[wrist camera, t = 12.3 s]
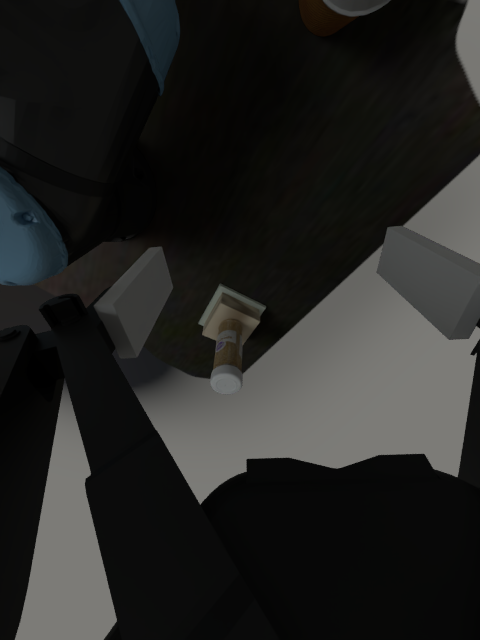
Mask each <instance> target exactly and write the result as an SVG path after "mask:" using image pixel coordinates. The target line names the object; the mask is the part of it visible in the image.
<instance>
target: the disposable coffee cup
mask: <svg viewBox="0 0 480 640" xmlns="http://www.w3.org/2000/svg"><path fill="white" fill-rule="evenodd" d="M389 1H391V0H299V9H300V14H301V18H302V20H303V22H304V24H305V26H306V27H307V29H308V30H309V31H310V32H312V33H313V34H314V35H317V36H324V37H325V36H328V35H332V34H334V33H335V32H337V31H338V30H340V29H341V28H343V27H344V26H345V25H347V24H348V23H350V22H351V21H353V20H354V19H356V18H357V17H359V16H363V15H367V14H369V13H372V12H374V11H376V10H378V9H379V8H381V7H382V6H384V5H385V4H387V3H388V2H389Z"/></svg>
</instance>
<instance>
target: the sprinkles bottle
mask: <svg viewBox="0 0 480 640" xmlns="http://www.w3.org/2000/svg"><path fill="white" fill-rule="evenodd" d="M242 330H243V328H242V325H241V324H240V322H239V321H237V320H234V319H227V320H224V321H222V322H221V323H220V325H219V328H218V331H219V332H218V337H217V343H216V353H215V361H214V368H213V371H212V374H211V382H210V384H211V387H212V388H213V389H214V390H215V391H216V392H218V393H220V394H233V393H236V392H238V391H239V390H240V389H241V387H242V371H241V366H242Z"/></svg>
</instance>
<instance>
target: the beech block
mask: <svg viewBox="0 0 480 640" xmlns="http://www.w3.org/2000/svg"><path fill="white" fill-rule="evenodd" d="M227 319H234V320H237V321H239V322H240V324H241V325H242V328H243V330H242V345H243V344H244V343H245V341H246V340H247V339H248V337H249V336H250V335H251V333H252V332H253V331H254V329H255V328H256V327H257V325H258V324H259V322H260V314H259V309H257V308H255V307H253V306H250V305H248V304H246V303H244V302H242V301H240V300H238V299H236V298H234V297H232V296H230V295H228V294H226V293H224V292H222V294H221V295H220V297H219V299H218V300H217V302H216V304H215V306H214V307H213V309H212V311H211V313H210V314H209V316H208V318H207V320H206V321H205V324H204V328H203V333H202V335H204V336H207V337H209V338H211V339H214V340H216V341H217V337H218V332H219V331H218V328H219V325H220V323H221V322H222V321H224V320H227Z"/></svg>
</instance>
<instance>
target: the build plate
mask: <svg viewBox="0 0 480 640" xmlns="http://www.w3.org/2000/svg"><path fill="white" fill-rule="evenodd" d="M222 292H224V293H226V294H228V295H230V296H232V297H234V298H236V299H238V300H240V301H242V302H244V303H246V304H248V305H250V306H253V307H255V308H257V309H259V314H260V316H261V314H262V313H263V312H264V310H265V309H266V306H265V305H263V304H261V303H259V302H257V301H255V300H253V299H251V298H249V297H247V296H245V295H243V294H241V293H239V292H237V291H235V290H233V289H231V288H229V287H227V286H225V285H223V284H221V283H220V285H219V287H218V288H217V290H216V292H215V294H214V296H213V297H212V299H211V301H210V303H209V305H208V306H207V308H206V310H205V312H204V314H203V315H202V317H201V319H200V321H199V324H200V325H202V326H204V324H205V321H206V320H207V318H208V316H209V314H210V313H211V311H212V309H213V307H214V306H215V304H216V302H217V300H218V299H219V297H220V295H221V294H222Z"/></svg>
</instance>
